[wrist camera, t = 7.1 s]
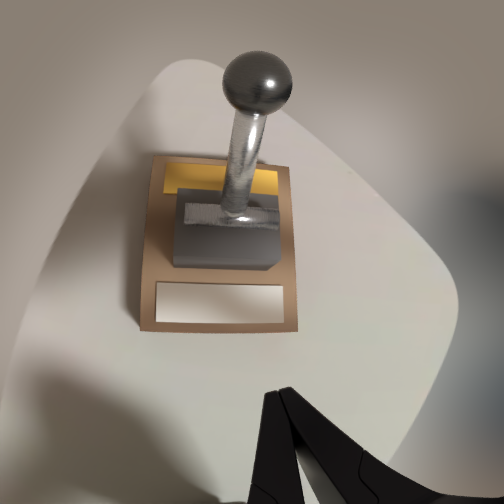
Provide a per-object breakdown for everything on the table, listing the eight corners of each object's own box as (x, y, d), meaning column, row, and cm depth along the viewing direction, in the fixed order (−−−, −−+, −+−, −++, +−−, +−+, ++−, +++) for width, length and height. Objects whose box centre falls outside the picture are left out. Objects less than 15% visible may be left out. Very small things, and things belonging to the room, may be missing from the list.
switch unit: (287, 332, 22) (317, 329, 17) (143, 331, 20) (133, 329, 15) (280, 179, 25) (303, 145, 20) (154, 169, 23) (152, 130, 18)
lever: (279, 245, 17) (331, 69, 11) (183, 241, 16) (204, 46, 10) (269, 213, 19) (309, 58, 13) (184, 207, 18) (204, 41, 12)
